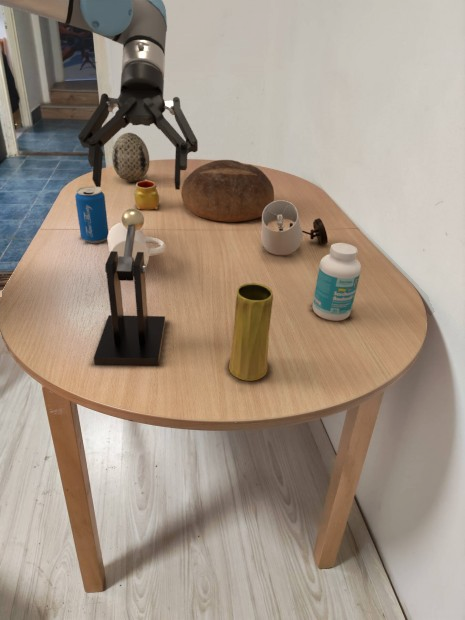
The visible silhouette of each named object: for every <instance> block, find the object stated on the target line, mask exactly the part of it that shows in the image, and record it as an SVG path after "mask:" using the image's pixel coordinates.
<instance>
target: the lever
mask: <svg viewBox="0 0 465 620" xmlns="http://www.w3.org/2000/svg"><path fill="white" fill-rule="evenodd" d="M121 222H122V224H123V226H124V227H125V228H126V229H127V236H126V243H125V249H124V256H123V257H122V256H119V257H118V264H117V270H116V271H117V275H118V279H119V280H120V281H123V282H124V281H127V282H128V281H129V282H130V281H131V282H134V271H133V264H134V258H133V257H132V252H133V245H134V237H135V231H137V230H139V229H141V228H142V227H143V226H144V223H145V217H144V214H143V213H142V212H141V211H140V210H139V209H137V208H128V209H126V210H125V211H124V212H123V213H122V215H121Z"/></svg>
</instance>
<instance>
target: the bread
mask: <svg viewBox="0 0 465 620" xmlns="http://www.w3.org/2000/svg"><path fill="white" fill-rule="evenodd" d="M274 189H275V188H274V186H273V184H272V182H271V180H270V179H269V177H268V176H267V175H266V174H265V173H264V172H263V171H262V169H260V168H258V167H256V166H254V165H252V164H248V163H247V164H246V163H242V162H240V161H237V160H233V159H219V160H213V161H211V162H207V163H205V164H202V165H200V166H199V167H196V168H195V169H194V170H193V171H192V172H190V173H189V174H188V175H187V177H185V179H184V180H183V183H182V185H181V189H180V191H181V192H180V194H181V200H182V203H183V204H184V206H185V207H186V208H187V210H189V211H190V212H191V213H192V214H194V215H196V216H198V217H199V218H203V219H205V220H211V221H217V222H225V223H226V222H227V223H230V222H231V223H236V222H245V221H251V220H256V219H259V218H262V213H263V211H264V209H265V207H266V206H267V205H268V204H270V203H271V202H274V201H275V190H274Z"/></svg>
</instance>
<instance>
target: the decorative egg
mask: <svg viewBox="0 0 465 620" xmlns="http://www.w3.org/2000/svg"><path fill="white" fill-rule="evenodd" d="M111 161H112V166H113V169H114V171H115V173H116V174H117V175H118V177H120V178H121V179H122V180H124V181H126V182H130V183H135V182H139V181H141V180H142V179H143V178H145V176H146V175H147V173H148V172H149V168H150V154H149V150H148V147H147V145H146V143H145V142H144V140H143V139H142V137H140V136H139V135H137V134H135V133H133V132H125V133H123V134H121V135H119V137H118V138H117V139H116V140H115V142H114V144H113V148H112V152H111Z"/></svg>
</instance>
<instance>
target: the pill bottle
mask: <svg viewBox="0 0 465 620" xmlns="http://www.w3.org/2000/svg"><path fill="white" fill-rule="evenodd" d="M357 254H358V249H357V247H356V246H354V245H352V244H350V243H347V242H346V243H345V242H336V243H332V244H331V246H330V249H329V253H328V254H326V255H324V256H323V257H322V258H321V260H320V262H319V265H318V266H319V267H318V272H317V278H316V283H315V284H316V285H315V288H314V293H313V300H312V305H311V307H312V311H313V312H314V313H315V314H316V315H317V316H318V317H320V318H322V319H324V320H328V321H334V322H336V321H338V322H339V321H343V320H346V319H348V318H349V317H350V315H351V313H352V309H353V307H354V306H353V305H354V301H355V297H356V293H357V288H358V286H359V285H358V284H359V281H360V276H361V272H362V265H361V263H360V261H359V260H358V259H357V256H358V255H357Z"/></svg>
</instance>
